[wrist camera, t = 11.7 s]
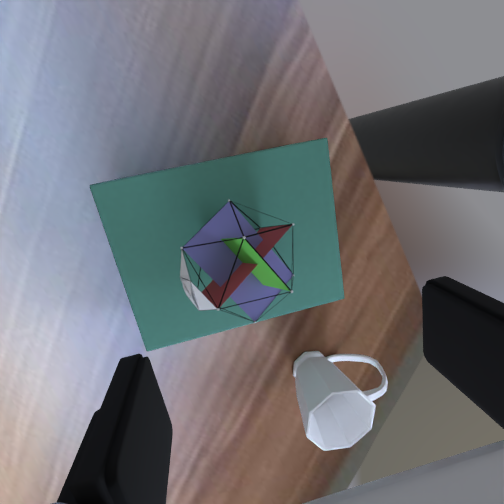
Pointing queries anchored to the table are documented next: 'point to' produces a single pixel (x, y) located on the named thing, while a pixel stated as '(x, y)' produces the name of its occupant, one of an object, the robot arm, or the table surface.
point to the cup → (334, 400)
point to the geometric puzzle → (236, 263)
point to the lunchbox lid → (199, 213)
